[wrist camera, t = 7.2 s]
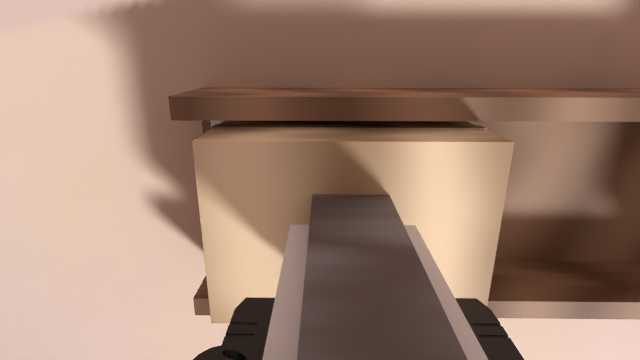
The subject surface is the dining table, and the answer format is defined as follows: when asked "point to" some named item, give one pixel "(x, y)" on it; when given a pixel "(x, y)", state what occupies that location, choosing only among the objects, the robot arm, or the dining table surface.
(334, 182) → the block with handle
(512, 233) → the bay
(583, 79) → the dining table surface
